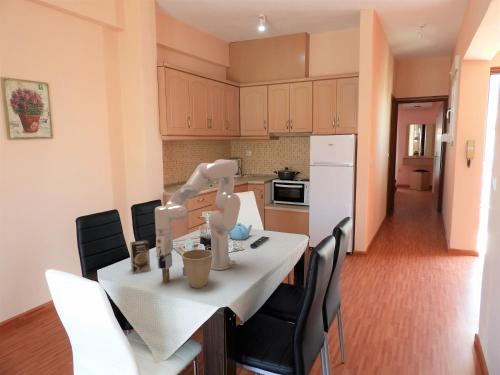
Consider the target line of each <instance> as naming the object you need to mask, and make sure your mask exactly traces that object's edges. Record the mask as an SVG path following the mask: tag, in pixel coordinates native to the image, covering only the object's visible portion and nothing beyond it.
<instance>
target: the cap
mask: <svg viewBox="0 0 500 375" xmlns="http://www.w3.org/2000/svg"><path fill="white" fill-rule="evenodd" d="M161 254H162V253H161ZM161 257H162V258H163V256H161ZM165 265H166V268H165V269H169V270H170V268H172V267H173V254H172V252H171V253H168V254H167V255H165ZM158 269H159V270H162V269H164V268H159V260H158V259H157V270H158Z"/></svg>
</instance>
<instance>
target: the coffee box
mask: <svg viewBox="0 0 500 375" xmlns="http://www.w3.org/2000/svg"><path fill="white" fill-rule="evenodd" d="M129 246H130V264H131V272H132V274H140V273H144V272H149V271H151V260H150V259H151V258H150V242H149V241H148V240H147V239H146V240H137V241H130V242H129Z"/></svg>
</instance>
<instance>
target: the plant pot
mask: <svg viewBox="0 0 500 375" xmlns="http://www.w3.org/2000/svg"><path fill="white" fill-rule="evenodd" d="M212 256H213V253H212V251H211V250H209V249H203V248H202V249H201V248H200V249H199V248H197V249H191V250H187V251H184V252H182V253H181V258H182V264H183V267H184V268H185V272H186V275H185V276H186V278H187V280H188V283H189V285H190V287H192V288H194V289H202V288H204V287H206V286H207V283H208V280H209V276H210V272H211V270H212V269H211V264H212Z"/></svg>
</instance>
